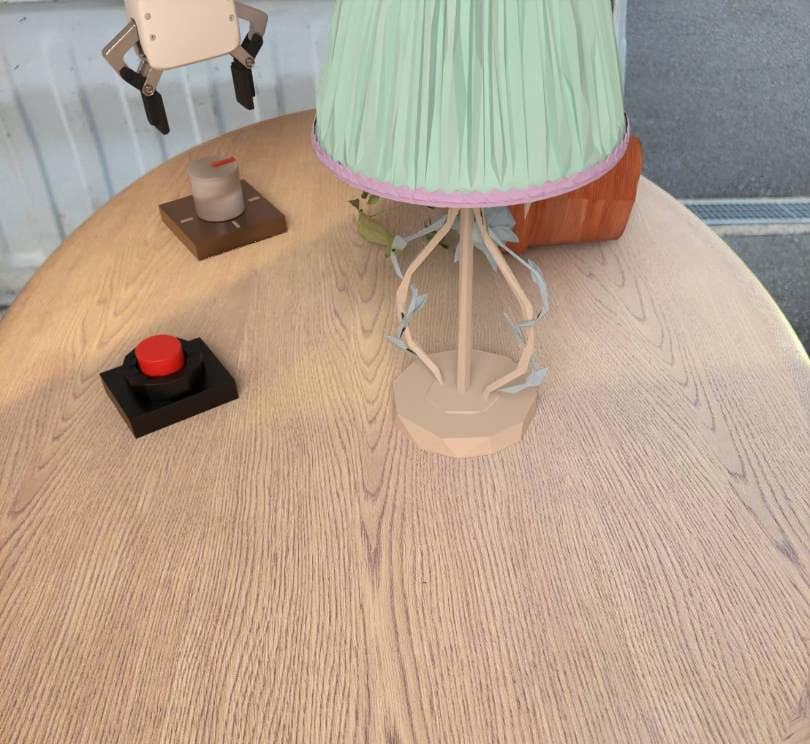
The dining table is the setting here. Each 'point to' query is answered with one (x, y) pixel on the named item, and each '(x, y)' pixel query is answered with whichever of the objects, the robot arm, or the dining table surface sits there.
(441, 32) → the table lamp
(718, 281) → the dining table surface
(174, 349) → the light button
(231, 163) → the dimmer knob
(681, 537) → the dining table surface
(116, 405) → the switch block
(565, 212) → the potted plant
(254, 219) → the dimmer panel
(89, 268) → the dining table surface
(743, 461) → the dining table surface
